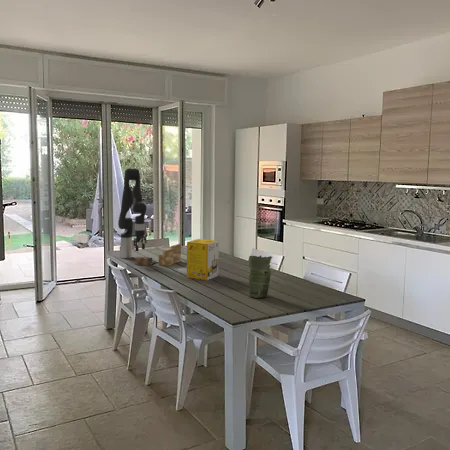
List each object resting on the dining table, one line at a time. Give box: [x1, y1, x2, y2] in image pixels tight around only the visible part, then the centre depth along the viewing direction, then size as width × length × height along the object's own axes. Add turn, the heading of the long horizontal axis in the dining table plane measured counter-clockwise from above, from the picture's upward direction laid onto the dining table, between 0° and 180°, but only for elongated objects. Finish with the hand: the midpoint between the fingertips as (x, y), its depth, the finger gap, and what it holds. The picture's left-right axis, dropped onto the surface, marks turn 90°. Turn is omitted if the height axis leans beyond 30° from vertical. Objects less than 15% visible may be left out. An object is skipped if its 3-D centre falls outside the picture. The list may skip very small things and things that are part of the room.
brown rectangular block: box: [134, 256, 153, 267], centre depth 357 cm, size 13×4×6 cm, turn 66°
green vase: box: [248, 255, 273, 299], centre depth 275 cm, size 11×12×25 cm
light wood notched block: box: [157, 243, 182, 267], centre depth 364 cm, size 8×21×14 cm, turn 156°
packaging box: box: [186, 238, 220, 281], centre depth 321 cm, size 16×16×25 cm
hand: (140, 250), depth 357 cm, fingers open, 8 cm apart
